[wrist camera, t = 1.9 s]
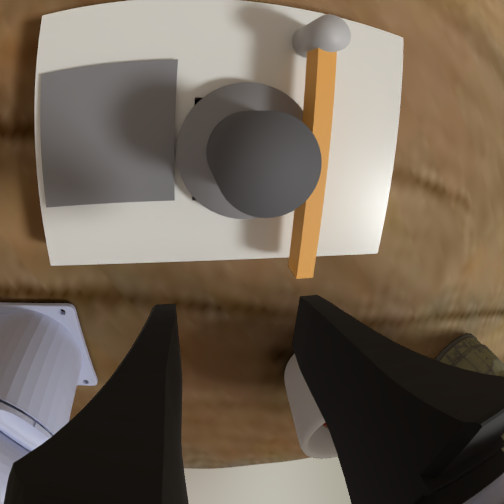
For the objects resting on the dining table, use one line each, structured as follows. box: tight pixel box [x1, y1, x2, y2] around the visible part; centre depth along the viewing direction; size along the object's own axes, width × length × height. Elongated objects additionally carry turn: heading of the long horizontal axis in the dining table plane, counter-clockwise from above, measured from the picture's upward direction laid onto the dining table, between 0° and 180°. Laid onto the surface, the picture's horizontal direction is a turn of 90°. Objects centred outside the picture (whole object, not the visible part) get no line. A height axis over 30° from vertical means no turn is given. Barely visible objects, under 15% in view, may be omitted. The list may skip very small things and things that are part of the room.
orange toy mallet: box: [288, 14, 351, 279], centre depth 15 cm, size 2×13×3 cm, turn 177°
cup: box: [284, 353, 338, 459], centre depth 23 cm, size 11×8×8 cm
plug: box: [176, 82, 322, 219], centre depth 14 cm, size 7×7×7 cm
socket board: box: [34, 0, 403, 266], centre depth 16 cm, size 20×14×3 cm
